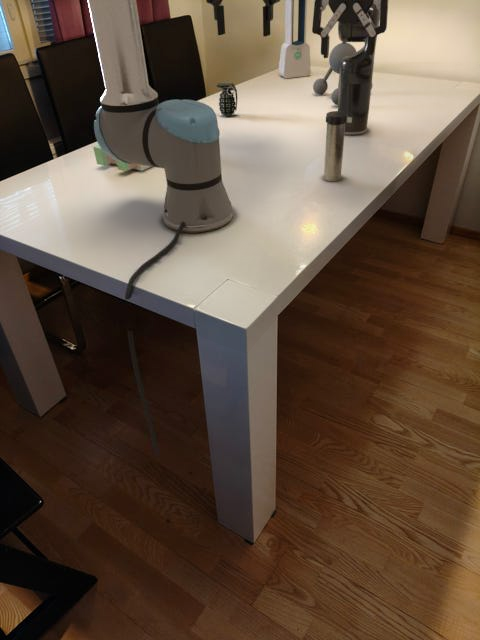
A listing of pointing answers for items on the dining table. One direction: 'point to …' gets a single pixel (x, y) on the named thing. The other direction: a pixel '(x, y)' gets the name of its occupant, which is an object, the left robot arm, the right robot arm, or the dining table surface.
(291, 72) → the electronic device
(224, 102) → the grenade
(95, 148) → the decorative block
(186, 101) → the left robot arm
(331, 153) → the grey metal cylinder
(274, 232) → the dining table surface
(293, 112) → the dining table surface
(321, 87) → the molecular model
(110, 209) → the dining table surface
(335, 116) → the lid
